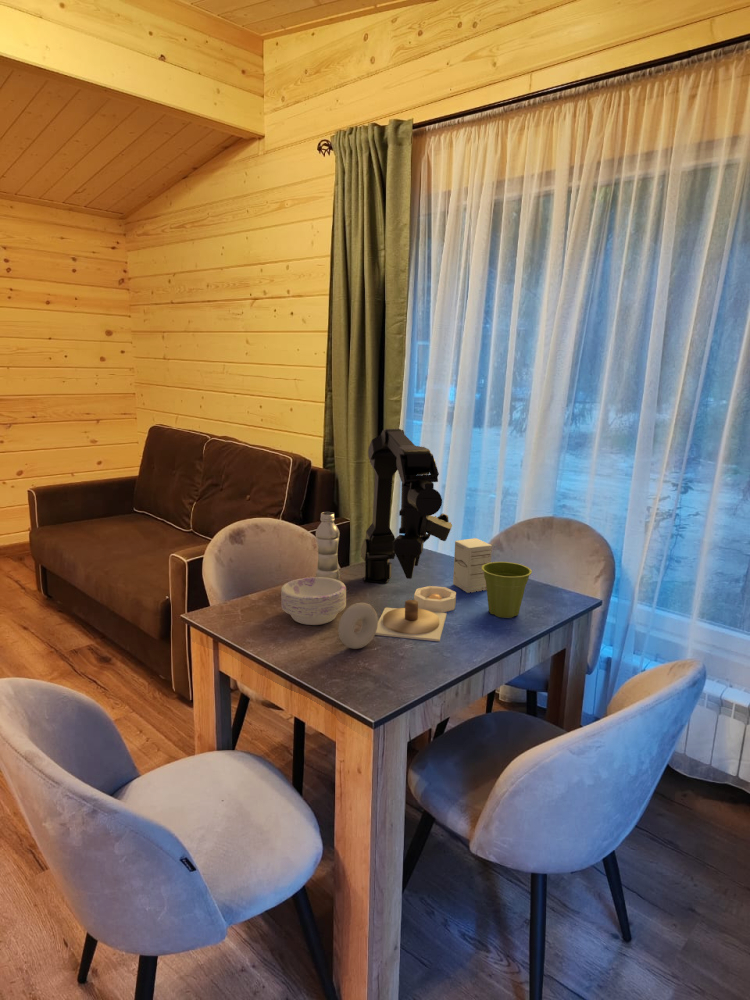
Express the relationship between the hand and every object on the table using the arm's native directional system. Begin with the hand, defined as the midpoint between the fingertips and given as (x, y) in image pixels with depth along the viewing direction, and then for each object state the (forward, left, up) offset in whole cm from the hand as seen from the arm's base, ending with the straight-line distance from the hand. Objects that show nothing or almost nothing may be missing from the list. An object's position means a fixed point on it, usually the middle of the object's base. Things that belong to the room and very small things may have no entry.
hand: (412, 571), depth 145 cm
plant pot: (+21, +13, -13) cm, 28 cm away
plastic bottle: (-26, +21, -13) cm, 36 cm away
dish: (+4, +14, -13) cm, 19 cm away
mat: (0, 0, -13) cm, 13 cm away
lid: (0, 0, -12) cm, 12 cm away
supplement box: (+12, +29, -13) cm, 34 cm away
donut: (-9, -14, -13) cm, 21 cm away
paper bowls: (-23, -1, -13) cm, 27 cm away
